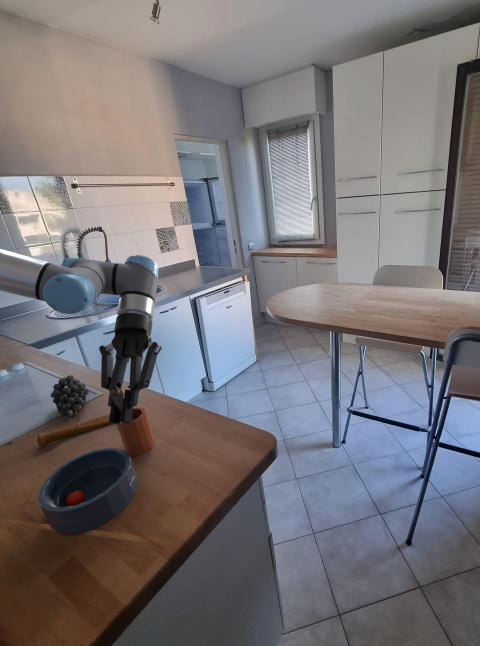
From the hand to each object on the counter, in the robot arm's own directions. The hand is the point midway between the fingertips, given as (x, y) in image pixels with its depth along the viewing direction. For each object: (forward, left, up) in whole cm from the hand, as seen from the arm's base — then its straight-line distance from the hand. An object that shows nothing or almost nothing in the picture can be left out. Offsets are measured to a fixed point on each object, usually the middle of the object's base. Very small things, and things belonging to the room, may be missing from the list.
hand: (120, 422), depth 68 cm
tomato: (-3, -12, -8) cm, 15 cm away
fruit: (-30, +16, -10) cm, 35 cm away
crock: (-1, +4, -10) cm, 11 cm away
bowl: (-1, -10, -10) cm, 14 cm away
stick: (-1, +4, -9) cm, 10 cm away
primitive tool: (-19, +9, -10) cm, 23 cm away
